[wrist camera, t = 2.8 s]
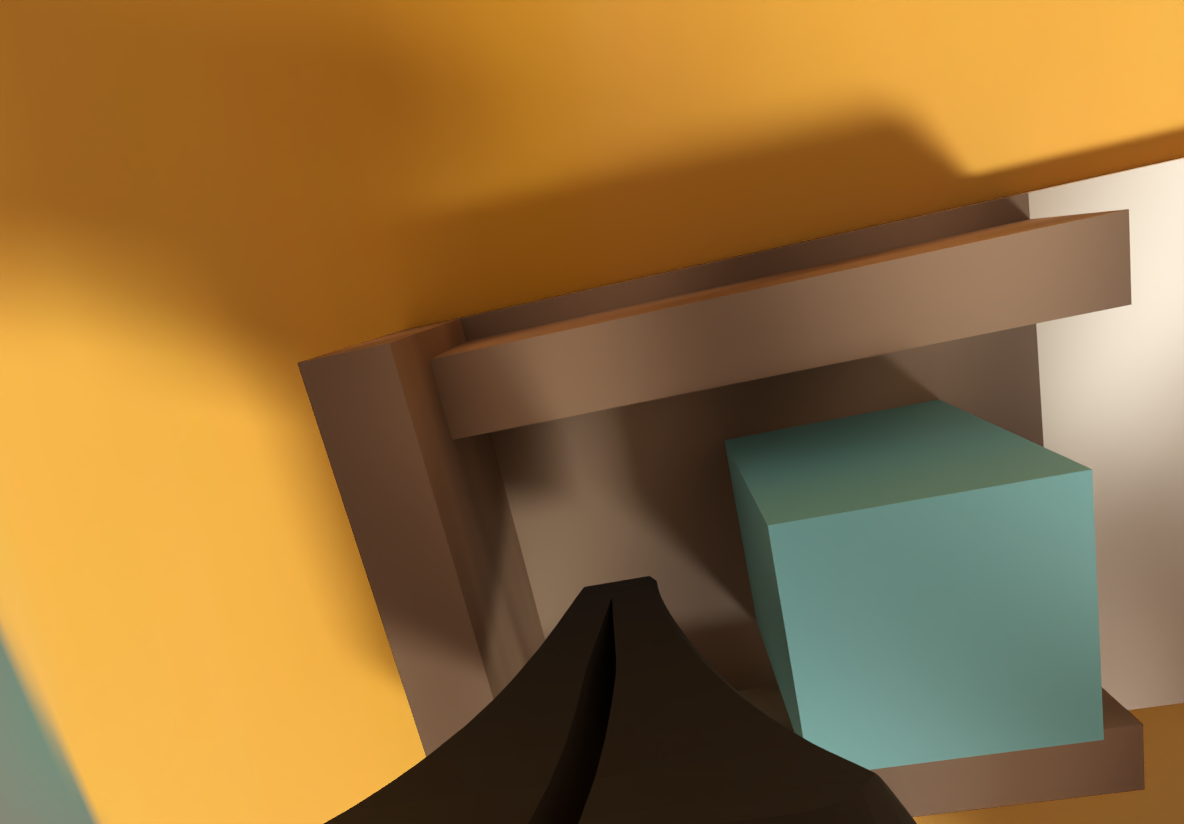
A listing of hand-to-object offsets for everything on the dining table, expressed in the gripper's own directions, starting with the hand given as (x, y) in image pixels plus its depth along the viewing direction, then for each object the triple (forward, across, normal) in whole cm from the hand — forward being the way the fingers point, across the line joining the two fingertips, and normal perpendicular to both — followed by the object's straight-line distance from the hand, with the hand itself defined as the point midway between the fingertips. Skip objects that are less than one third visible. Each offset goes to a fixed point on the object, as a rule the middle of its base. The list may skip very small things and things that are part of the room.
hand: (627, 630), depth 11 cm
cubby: (+4, -7, 0) cm, 8 cm away
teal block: (+3, -5, 0) cm, 6 cm away
